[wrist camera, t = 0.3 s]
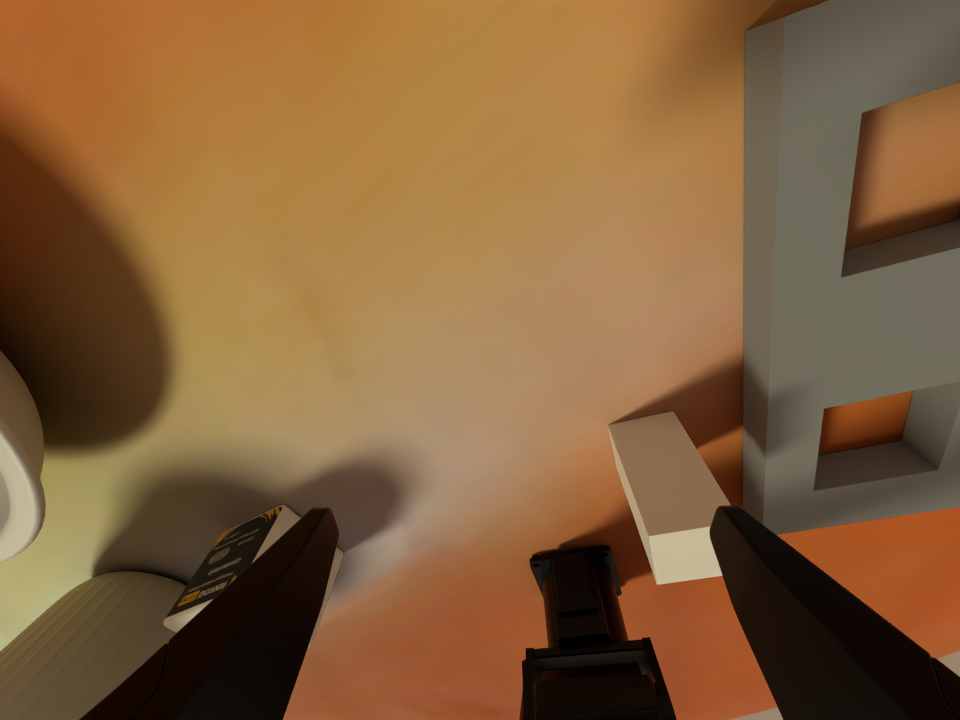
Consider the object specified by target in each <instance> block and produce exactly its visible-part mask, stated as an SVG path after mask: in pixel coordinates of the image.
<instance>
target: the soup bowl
mask: <svg viewBox="0 0 960 720" xmlns="http://www.w3.org/2000/svg"><path fill="white" fill-rule="evenodd" d="M43 461H44V437H43V429H42V424H41V420H40V417H39V413H38V410H37V407H36V405H35V402H34V400H33V398H32V395H31V393H30V391H29V390H28V388H27V386H26V384H25V382H24V381H23V379H22V378H21V376H20V374H19V373H18V372H17V370H16V369H15V368H14V366H13V365H12V364H11V362H10V361H9V360H8V359H7V358H6V356H5V355H4V354H3V353H2V352H1V350H0V563H2V562H4V561H7V560H9V559H10V558H12V557H14V556H16V555H18V554H19V553H21V552H22V551H23V550H25V549H26V548H27V547H28V546H29V545H30V544H31V543H32V542H33V541H34V539H35V538H36V537H37V535H38V533H39V532H40V530H41V528H42V525H43V522H44V518H45V507H46V503H45V496H44V490H43V487H42V483H41V480H40V476H41V472H42V467H43Z"/></svg>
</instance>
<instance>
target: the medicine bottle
mask: <svg viewBox="0 0 960 720" xmlns="http://www.w3.org/2000/svg"><path fill="white" fill-rule="evenodd" d="M300 519H301V518H300V517H299V516H298V515H297V514H296V513H294V512H293V511H292V510H291V509H289V508H288V507H287V506H286V505H280V506H278V507H275V508H273V509H271V510H269V511H267V512H265V513H263V514H261V515H258V516H256V517H254V518H252V519H250V520H248V521H246V522H244V523H241V524H239V525H237V526H235V527H233V528H231V529H229V530H227V531H225V532H223V533H222V534H221V536H220V537H219V539H218V540H217V542H216V543H215V545H214V546H213V548H212V549H211V551H210V552H209V554H208V555H207V557H206V558H205V560H204V561H203V563H202V564H201V566H200V567H199V569H198V570H197V571H196V573H195V574H194V576H193V577H192V579H191V580H190V582H189V583H188V585H187V586H186V588H185V589H184V591H183V592H182V594H181V595H180V597H179V598H178V600H177V601H176V603H175V604H174V606H173V607H172V609H171V610H170V612H169V613H168V615H167V616H166V618H165V619H164V622H163V623H164V626H165V627H167V628H169V629H170V630H172V631H174V632H176V633H177V632H178V631H179V630H180V629H181V628H183V627H184V626H185V625H186V624H187V623H188V622H189V621H190V620H191V619H192V618H193V617H194V616H196V615H197V614H198V613H199V612H200V611H201V610H202V609H203V608H204V607H205V606H206V605H207V604H209V603H210V602H211V601H212V600H213V599H214V598H215V597H216V596H217V595H218V594H219V593H220V592H222V591H223V590H224V589H225V588H226V587H227V586H228V585H229V584H230V583H231V582H232V581H233V580H235V579H236V578H237V577H238V576H239V575H240V574H241V573H242V572H243V571H244V570H245V569H246V568H248V567H249V566H250V565H251V564H252V563H253V562H254V561H255V560H256V559H257V558H258V557H259V556H261V555H262V554H263V553H264V552H265V551H266V550H267V549H268V548H269V547H270V546H271V545H272V544H274V543H275V542H276V541H277V540H278V539H279V538H280V537H281V536H282V535H283V534H284V533H285V532H287V531H288V530H289V529H290V528H291V527H292V526H293V525H294V524H295V523H296V522H297V521H298V520H300ZM342 559H343V552H342V551H341V550H340V549H339V548H337V547H336V551H335V555H334V559H333V563H332V568H331V572H330V576H329V580H328V584H327V588H326V593H325V597H324V600H323V604H322V607H321V610H320V614H319V617H318V620H317V622H316V625H315V628H314V631H313V634H312V637H311V640H310V643H309V645H308V647H310V646H311V645H312V643H313V640H314V637H315V635H316V632H317V629H318V626H319V623H320V621H321V618H322V615H323V612H324V609H325V607H326V604H327V601H328V598H329V595H330V593H331V590H332V587H333V584H334V581H335V578H336V576H337V573H338V570H339V567H340V564H341V562H342Z"/></svg>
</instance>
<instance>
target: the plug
mask: <svg viewBox="0 0 960 720" xmlns="http://www.w3.org/2000/svg"><path fill="white" fill-rule="evenodd" d="M608 428H609V433H610V438H611V443H612V447H613V452H614V457H615V462H616V467H617V470H618V473H619V476H620V479H621V482H622V485H623V488H624V491H625V493H626V496H627V499H628V502H629V505H630V508H631V511H632V514H633V517H634V519H635V522H636V525H637V528H638V531H639V534H640V537H641V540H642V543H643V545H644V548H645V551H646V554H647V557H648V560H649V563H650V566H651V569H652V571H653V574H654V577H655V580H656V583H657V585H658V584H665V583H673V582H680V581H687V580H694V579H702V578H709V577H716V576H723V575H722V572H721V570H720V567H719V564H718V561H717V558H716V555H715V552H714V549H713V546H712V543H711V540H710V533H709V532H710V526H711V523H712V520H713V517H714V514H715V511H716V509H717V508H718V507H719V506H722V505H730V503H729V501H728V500H727V498H726V496H725V495H724V493H723V492H722V490H721V488H720V487H719V485H718V483H717V482H716V480H715V478H714V477H713V475H712V474H711V472H710V470H709V469H708V467H707V465H706V464H705V462H704V460H703V459H702V457H701V456H700V454H699V452H698V451H697V449H696V447H695V446H694V444H693V442H692V441H691V439H690V438H689V436H688V434H687V433H686V431H685V429H684V428H683V426H682V424H681V423H680V421H679V420H678V418H677V416H676V415H675V413H674V411H671V412H666V413H662V414H657V415H652V416H648V417H643V418H638V419H634V420H629V421H624V422H620V423H615V424H610V425H608Z"/></svg>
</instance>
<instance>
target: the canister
mask: <svg viewBox="0 0 960 720" xmlns="http://www.w3.org/2000/svg"><path fill="white" fill-rule="evenodd" d="M185 588H186V585H184V584H183V583H181V582H177V581H175V580H173V579H169V578H165V577H163V576H158V575H154V574H151V573H149V574H147V573H144V572H134V571H126V572H123V571H118V572H111V573H106V574H103V575H99V576H96V577H94V578H92V579H89V580H88V581H86V582H84V583H82V584H80V585H78V586H77V587H75V588H74V589H72V590H71V591H69V592H68V593H67V594H65V595H64V596H63V597H61V598H60V599H59V600H58V601H57V602H55V603H54V604H53V605H52V606H51V607H50V608H49V609H47V610H46V611H45V612H44V613H43V614H42V615H41V616H40V617H38V618H37V619H36V620H35V621H34V622H33V623H32V624H31V625H29V626H28V627H27V628H26V629H25V630H24V631H23V632H22V633H21V634H19V635H18V636H17V637H16V638H15V639H14V640H13V641H12V642H10V643H9V644H8V645H7V646H6V647H5V648H4V649H3V650H2V651H0V720H79V719H80V718H81V717H82V716H83V715H85V714H86V713H87V712H88V711H89V710H90V709H92V708H93V707H94V706H95V705H96V704H98V703H99V702H100V701H101V700H102V699H103V698H105V697H106V696H107V695H108V694H109V693H111V692H112V691H113V690H114V689H115V688H116V687H118V686H119V685H120V684H121V683H122V682H123V681H124V680H125V679H126V678H128V677H129V676H130V675H131V674H132V673H133V672H134V671H135V670H137V669H138V668H139V667H140V666H141V665H142V664H143V663H144V662H145V661H147V660H148V659H149V658H150V657H151V656H152V655H153V654H154V653H155V652H156V651H157V650H159V649H160V648H161V647H162V646H163V645H164V644H166V643H168V642H169V640H170V639H171V638H172V637H173V636H174V635H175V634H176V632H174V631H172V630H170V629H169V628H167V627H165V626H164V623H163V622H164V619H165V618H166V616H167V615H168V613H169V612H170V610H171V609H172V607H173V606H174V604H175V603H176V601H177V600H178V598H179V597H180V595H181V594H182V592H183V591H184V589H185Z"/></svg>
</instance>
